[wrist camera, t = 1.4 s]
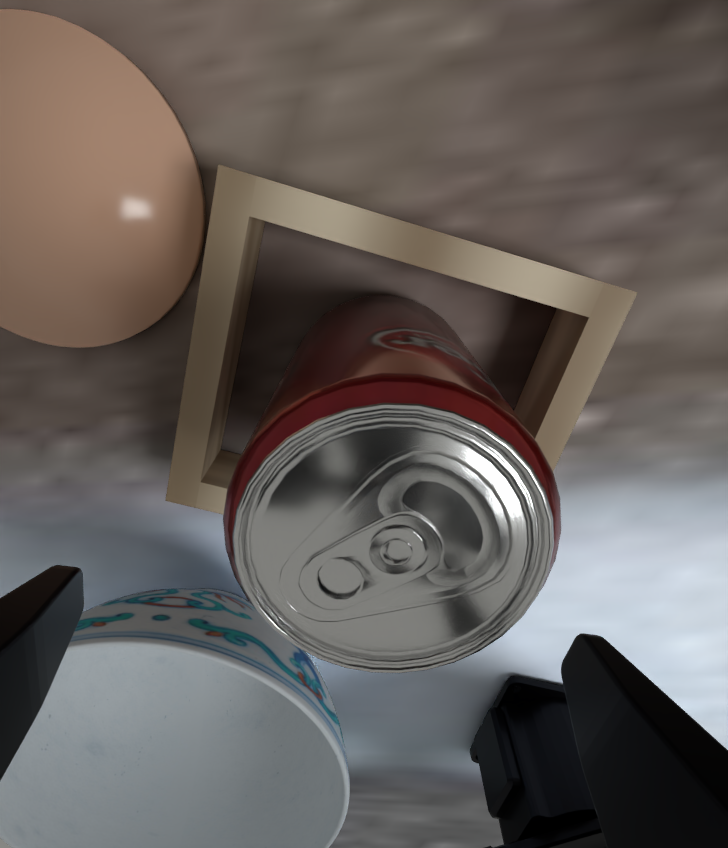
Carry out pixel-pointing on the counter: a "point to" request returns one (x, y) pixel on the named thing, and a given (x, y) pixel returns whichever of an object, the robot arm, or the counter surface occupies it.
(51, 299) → the saucer
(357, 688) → the counter surface
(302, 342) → the soda can
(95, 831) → the chinaware
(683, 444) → the counter surface
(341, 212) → the square beige frame
